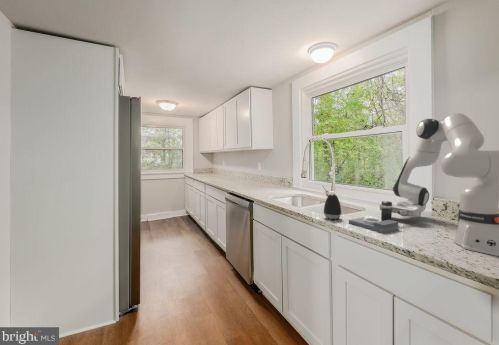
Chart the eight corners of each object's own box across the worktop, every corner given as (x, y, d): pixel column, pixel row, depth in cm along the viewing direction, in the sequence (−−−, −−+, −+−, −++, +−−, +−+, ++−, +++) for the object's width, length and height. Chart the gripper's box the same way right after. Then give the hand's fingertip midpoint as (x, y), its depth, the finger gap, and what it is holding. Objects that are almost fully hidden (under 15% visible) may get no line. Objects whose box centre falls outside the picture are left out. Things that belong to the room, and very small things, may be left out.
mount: (398, 229, 118) (398, 221, 118) (383, 233, 113) (383, 225, 112) (363, 220, 136) (363, 213, 136) (348, 223, 130) (348, 216, 130)
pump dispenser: (333, 215, 148) (333, 192, 147) (345, 219, 138) (345, 194, 137) (319, 217, 144) (319, 193, 143) (331, 221, 134) (331, 195, 133)
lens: (393, 223, 129) (394, 202, 128) (387, 225, 126) (388, 203, 126) (384, 221, 133) (385, 200, 132) (378, 222, 131) (379, 201, 130)
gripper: (387, 200, 146) (373, 202, 140) (424, 206, 128) (409, 208, 122) (387, 210, 147) (373, 212, 140) (423, 217, 129) (409, 220, 122)
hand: (390, 211), depth 131 cm, fingers open, 8 cm apart
